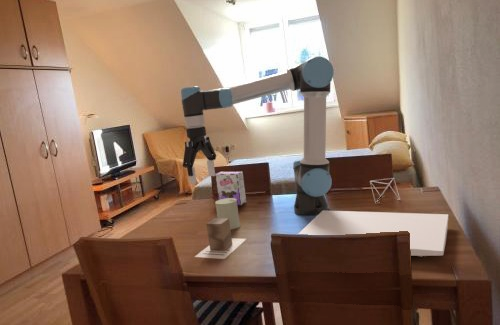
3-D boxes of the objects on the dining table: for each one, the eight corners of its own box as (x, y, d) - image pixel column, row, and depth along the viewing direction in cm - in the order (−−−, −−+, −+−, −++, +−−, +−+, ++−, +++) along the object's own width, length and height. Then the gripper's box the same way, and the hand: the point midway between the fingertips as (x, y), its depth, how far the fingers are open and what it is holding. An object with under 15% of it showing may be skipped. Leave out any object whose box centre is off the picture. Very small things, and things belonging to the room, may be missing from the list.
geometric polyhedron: (402, 197, 175) (401, 177, 174) (397, 204, 166) (396, 183, 165) (374, 196, 182) (372, 177, 181) (368, 203, 173) (366, 183, 172)
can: (237, 230, 159) (233, 202, 157) (216, 231, 161) (212, 203, 159) (242, 223, 168) (238, 196, 166) (222, 224, 170) (218, 197, 168)
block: (232, 244, 143) (228, 218, 141) (224, 251, 137) (221, 224, 136) (218, 244, 145) (214, 218, 144) (210, 250, 140) (206, 223, 138)
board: (293, 253, 130) (291, 239, 129) (323, 221, 157) (322, 210, 156) (443, 267, 107) (442, 251, 107) (448, 227, 135) (448, 214, 134)
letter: (246, 239, 147) (246, 238, 147) (224, 259, 131) (224, 258, 131) (219, 238, 152) (218, 237, 152) (194, 257, 136) (194, 256, 136)
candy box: (218, 204, 203) (214, 173, 201) (225, 201, 208) (221, 171, 206) (240, 205, 196) (236, 173, 194) (247, 202, 201) (242, 171, 198)
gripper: (204, 124, 165) (211, 173, 168) (167, 131, 143) (176, 187, 146) (220, 122, 161) (226, 172, 165) (184, 130, 140) (192, 187, 143)
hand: (203, 179), depth 155 cm, fingers open, 13 cm apart
